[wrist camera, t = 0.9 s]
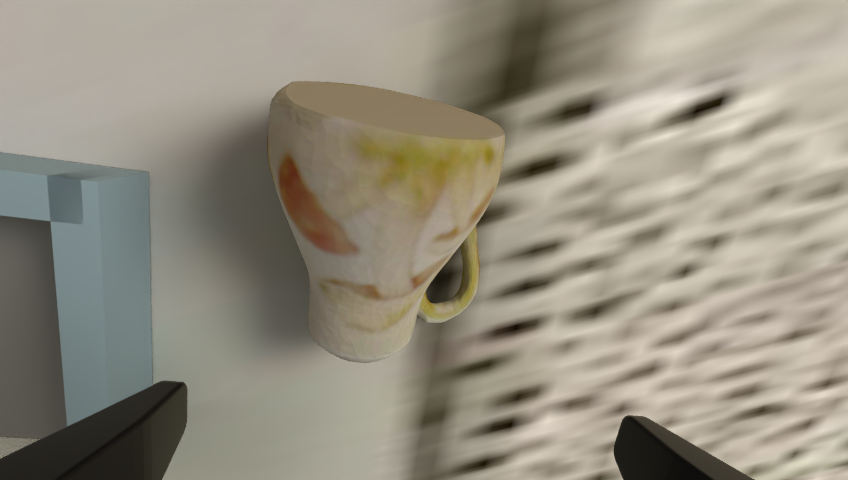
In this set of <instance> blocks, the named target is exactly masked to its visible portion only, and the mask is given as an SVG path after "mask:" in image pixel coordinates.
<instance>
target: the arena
mask: <svg viewBox="0 0 848 480" xmlns="http://www.w3.org/2000/svg"><path fill="white" fill-rule="evenodd" d="M0 215H1V216H10V217H18V218H27V219H36V220H44V221H51V233H52V246H53V258H54V270H55V282H56V295H57V307H58V319H59V331H60V344H61V356H62V368H63V381H64V393H65V405H66V417H67V426H69V425H71V424H73V423H76V422H78V421H80V420H82V419H84V418H86V417H88V416H90V415H92V414H94V413H96V412H98V411H100V410H102V409H104V408H107V407H109V406H111V405H113V404H115V403H117V402H119V401H121V400H123V399H125V398H127V397H129V396H131V395H133V394H136V393H138V392H140V391H142V390H144V389H146V388H148V387H150V386H152V385H153V376H152V323H151V270H150V216H149V172H144V171H137V170H129V169H122V168H114V167H107V166H99V165H92V164H84V163H77V162H69V161H61V160H54V159H46V158H39V157H31V156H24V155H16V154H9V153H1V152H0Z"/></svg>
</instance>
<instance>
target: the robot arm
mask: <svg viewBox="0 0 848 480" xmlns="http://www.w3.org/2000/svg"><path fill="white" fill-rule="evenodd" d="M186 423H187V386H186V384H185V383H184V382H176V381H161V382H158V383H156V384H154V385H152V386H150V387H148V388H146V389H144V390H142V391H140V392H138V393H136V394H133V395H131V396H129V397H127V398H125V399H123V400H121V401H119V402H117V403H115V404H113V405H111V406H109V407H107V408H104V409H102V410H100V411H98V412H96V413H94V414H92V415H90V416H88V417H86V418H84V419H82V420H80V421H78V422H76V423H73V424H71V425H69V426H67V427H65V428H63V429H61V430H59V431H57V432H55V433H53V434H51V435H49V436H47V437H44V438H42V439H40V440H38V441H36V442H34V443H32V444H30V445H28V446H26V447H24V448H22V449H20V450H17V451H15V452H13V453H11V454H9V455H7V456H5V457H3V458H1V459H0V480H162V478H163V476H164V474H165V472H166V470H167V468H168V465H169V463H170V461H171V459H172V457H173V455H174V452H175V450H176V448H177V446H178V444H179V442H180V440H181V437H182V435H183V433H184V430H185V427H186ZM614 457H615V460H616V463H617V465H618V468H619V470H620V473H621V475H622V477H623V480H754V479H752V478H750V477H749V476H747V475H745V474H743V473H742V472H740V471H738V470H736V469H735V468H733V467H731V466H730V465H728V464H726V463H724V462H723V461H721V460H719V459H717V458H716V457H714V456H712V455H711V454H709V453H707V452H705V451H704V450H702V449H700V448H698V447H697V446H695V445H693V444H691V443H690V442H688V441H686V440H685V439H683V438H681V437H679V436H678V435H676V434H674V433H672V432H671V431H669V430H667V429H666V428H664V427H662V426H660V425H659V424H657V423H655V422H653V421H652V420H650V419H648V418H646V417H643V416H631V415H628V416H625V417H624V418H623V420H622V422H621V426H620V429H619V432H618V435H617V438H616V441H615V445H614Z"/></svg>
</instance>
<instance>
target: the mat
mask: <svg viewBox="0 0 848 480" xmlns="http://www.w3.org/2000/svg"><path fill="white" fill-rule="evenodd" d="M65 427H67V417H66V405H65V393H64V381H63V368H62V356H61V344H60V331H59V319H58V307H57V295H56V282H55V270H54V258H53V246H52V233H51V221H44V220H36V219H27V218H18V217H10V216H1V215H0V437H19V438H37V439H42V438H44V437H47V436H49V435H51V434H53V433H55V432H57V431H59V430H61V429H63V428H65Z"/></svg>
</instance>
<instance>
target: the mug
mask: <svg viewBox="0 0 848 480" xmlns="http://www.w3.org/2000/svg"><path fill="white" fill-rule="evenodd" d="M504 147H505V135H504V131H503V130H502V128H501V127H500V126H499V125H497V124H496V123H494V122H492V121H491V120H489V119H487V118H485V117H482V116H480V115H477V114H474V113H471V112H468V111H466V110H463V109H460V108H456V107H453V106H450V105H447V104H444V103H441V102H437V101H433V100H429V99H424V98H420V97H416V96H412V95H408V94H403V93H399V92H395V91H390V90H385V89H380V88H373V87H367V86H360V85H354V84H343V83H332V82H310V81H297V82H291V83H290V84H288V85H287V86H285V87H283V88H282V89H281V90H279V91H278V92H277V93H276V95H275V96H274V97H273V99H272V101H271V104H270V116H269V127H268V137H267V155H268V163H269V168H270V172H271V175H272V178H273V182H274V185H275V188H276V192H277V195H278V198H279V200H280V203H281V205H282V208H283V210H284V213H285V216H286V218H287V221H288V223H289V225H290V227H291V230H292V232H293V234H294V237H295V239H296V242H297V244H298V247H299V249H300V252H301V254H302V256H303V258H304V261H305V264H306V267H307V269H308V273H309V280H310V301H309V311H308V327H309V331H310V334H311V336H312V338H313V340H314V341H315V342H316V343H317V344H318V345H319V346H321V347H322V348H324V349H325V350H326V351H328V352H329V353H331V354H333V355H335V356H337V357H339V358H341V359H344V360H347V361H351V362H360V363H368V362H375V361H378V360H382V359H385V358H387V357H389V356H391V355H393V354H395V353H397V352H398V351H400V350H401V349H402V348H403V347H404V346H405V345H406V344H407V343H408V342H409V340H410V338H411V335H412V332H413V329H414V325H415V322H416V318H417V315H418V316H419V317H420V318H421V319H423V320H424V321H426V322H429V323H442V322H444V321H447V320H449V319H451V318H453V317H454V316H456V315H458V314H460V313H461V312H462V311H463V310H464V309H465V308H466V307H467V306H469V304H470V303H471V301H472V300H473V298H474V296H475V294H476V292H477V289H478V283H479V272H480V262H479V255H478V248H477V231H476V224H477V223H478V221H479V220H480V218H481V217H482V215H483V213H484V212H485V210H486V209H487V207H488V205H489V203H490V201H491V199H492V197H493V195H494V192H495V190H496V187H497V184H498V180H499V176H500V173H501V167H502V162H503V155H504ZM459 246H460V249H461V254H462V260H463V274H462V281H461V285H460V289H459V290H458V292H457V293H456V295H455V296H454V297H452V298H451V299H450V300H447V301H444V302H440V303H430V302H429V301H428V299H427V297H426V289H427V288H428V286H429V284H430V283H431V282H432V280H433V279H434V278H435V276H436V275H437V274H438V272H439V271H440V270H441V269H442V267H443V266H444V265H445V264H446V263H447V262H448V260H449V259H450V258H451V256H452V255H453V254H454V252H455V251H456V250H457V249H458V247H459Z"/></svg>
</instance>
